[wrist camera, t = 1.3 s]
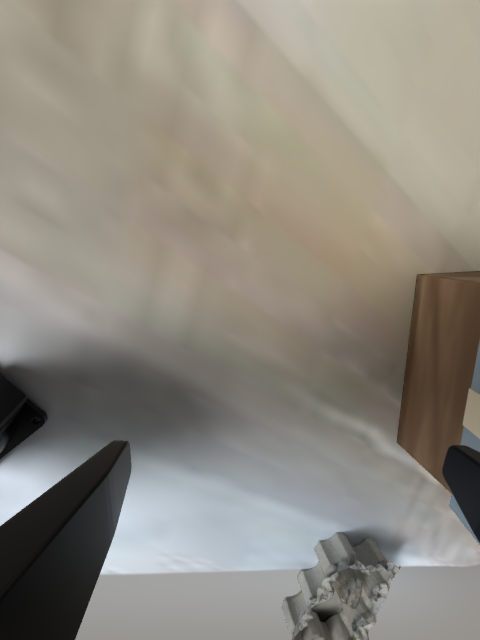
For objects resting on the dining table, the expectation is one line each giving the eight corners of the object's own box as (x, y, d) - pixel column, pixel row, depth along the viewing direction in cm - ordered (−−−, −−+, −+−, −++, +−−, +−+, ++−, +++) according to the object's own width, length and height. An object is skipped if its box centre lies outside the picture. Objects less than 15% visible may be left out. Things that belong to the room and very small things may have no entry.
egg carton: (331, 622, 31) (353, 678, 27) (267, 612, 29) (281, 671, 25) (388, 540, 29) (420, 586, 25) (324, 522, 27) (349, 570, 23)
